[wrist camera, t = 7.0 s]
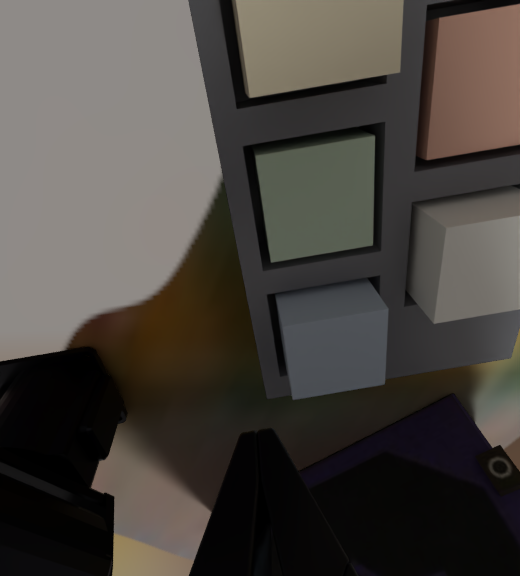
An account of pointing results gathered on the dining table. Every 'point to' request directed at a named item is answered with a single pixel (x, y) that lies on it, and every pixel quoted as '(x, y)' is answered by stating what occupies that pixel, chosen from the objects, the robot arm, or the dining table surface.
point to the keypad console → (387, 192)
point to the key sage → (316, 192)
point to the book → (422, 499)
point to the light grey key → (465, 254)
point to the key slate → (333, 337)
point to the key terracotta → (470, 83)
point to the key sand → (315, 42)
